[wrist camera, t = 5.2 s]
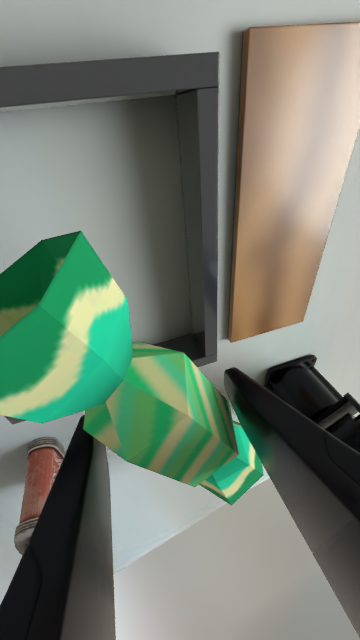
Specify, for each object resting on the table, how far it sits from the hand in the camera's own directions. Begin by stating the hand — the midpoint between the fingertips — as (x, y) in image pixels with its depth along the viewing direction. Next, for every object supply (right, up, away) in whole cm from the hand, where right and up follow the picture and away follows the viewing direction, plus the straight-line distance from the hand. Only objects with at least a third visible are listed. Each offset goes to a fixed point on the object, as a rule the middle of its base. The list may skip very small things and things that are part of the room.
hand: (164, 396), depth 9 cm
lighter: (-13, -12, +18) cm, 26 cm away
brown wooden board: (+8, +10, +10) cm, 16 cm away
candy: (-1, +1, +1) cm, 1 cm away
